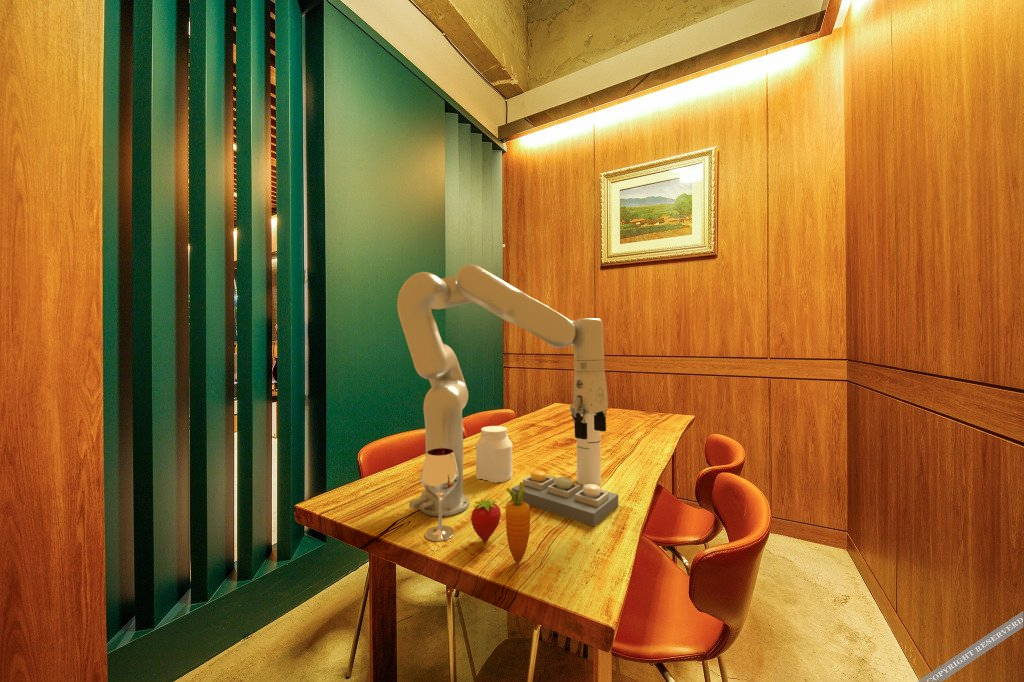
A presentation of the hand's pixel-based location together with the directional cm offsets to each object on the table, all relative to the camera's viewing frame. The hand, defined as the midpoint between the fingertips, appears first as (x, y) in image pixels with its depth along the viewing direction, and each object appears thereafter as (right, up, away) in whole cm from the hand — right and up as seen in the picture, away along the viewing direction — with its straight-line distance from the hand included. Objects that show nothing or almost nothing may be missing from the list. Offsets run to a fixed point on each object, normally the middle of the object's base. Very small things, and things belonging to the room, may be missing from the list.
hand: (590, 434), depth 95 cm
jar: (-26, -19, +23) cm, 39 cm away
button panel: (-6, -19, +4) cm, 20 cm away
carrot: (-19, -19, -23) cm, 36 cm away
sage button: (-6, -14, +4) cm, 16 cm away
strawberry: (-26, -19, -16) cm, 35 cm away
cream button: (0, -14, -1) cm, 14 cm away
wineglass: (-36, -19, -13) cm, 42 cm away
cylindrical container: (+3, -19, +19) cm, 27 cm away
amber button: (-13, -14, +9) cm, 21 cm away
